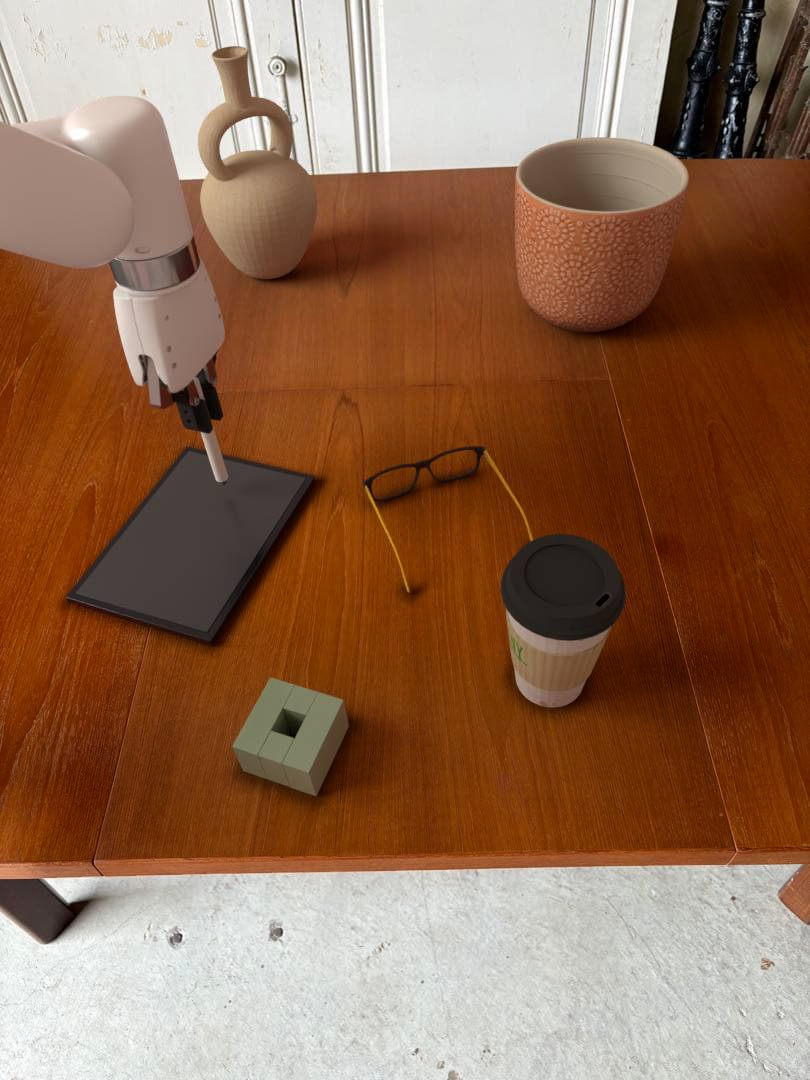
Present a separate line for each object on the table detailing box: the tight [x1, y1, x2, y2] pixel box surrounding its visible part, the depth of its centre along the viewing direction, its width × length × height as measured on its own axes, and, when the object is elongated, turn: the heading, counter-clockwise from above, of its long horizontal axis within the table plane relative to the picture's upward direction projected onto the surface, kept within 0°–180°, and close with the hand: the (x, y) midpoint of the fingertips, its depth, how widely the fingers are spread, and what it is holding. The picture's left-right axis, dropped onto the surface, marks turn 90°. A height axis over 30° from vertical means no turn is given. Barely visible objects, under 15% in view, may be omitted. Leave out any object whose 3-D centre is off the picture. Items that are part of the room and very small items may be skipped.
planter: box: [514, 136, 690, 333], centre depth 107 cm, size 21×21×19 cm
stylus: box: [193, 377, 228, 485], centre depth 85 cm, size 1×1×14 cm
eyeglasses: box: [362, 445, 534, 593], centre depth 86 cm, size 14×14×4 cm
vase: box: [197, 45, 318, 280], centre depth 114 cm, size 17×17×30 cm
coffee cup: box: [499, 533, 627, 709], centre depth 69 cm, size 10×10×15 cm
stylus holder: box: [231, 677, 350, 797], centre depth 69 cm, size 7×7×4 cm
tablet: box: [65, 446, 317, 647], centre depth 88 cm, size 17×24×1 cm
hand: (204, 422), depth 84 cm, fingers closed on stylus, 1 cm apart
